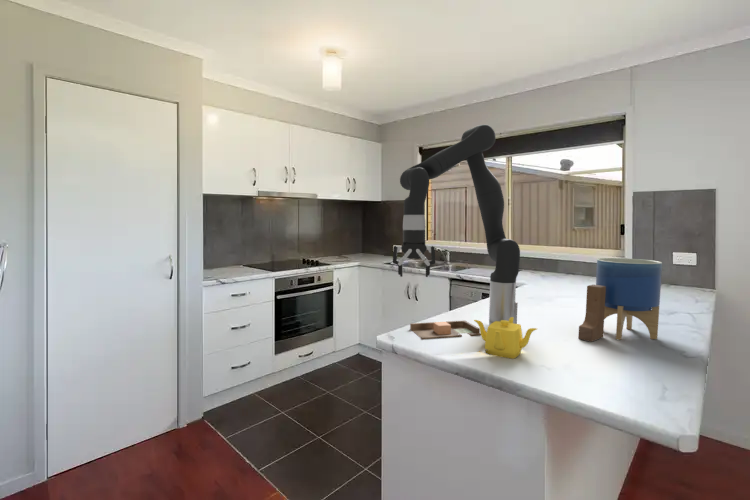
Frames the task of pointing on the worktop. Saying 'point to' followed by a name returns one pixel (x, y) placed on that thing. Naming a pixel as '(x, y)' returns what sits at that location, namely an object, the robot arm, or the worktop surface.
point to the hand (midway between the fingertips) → (413, 276)
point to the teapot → (504, 338)
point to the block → (442, 328)
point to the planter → (631, 291)
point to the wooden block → (593, 314)
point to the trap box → (456, 328)
